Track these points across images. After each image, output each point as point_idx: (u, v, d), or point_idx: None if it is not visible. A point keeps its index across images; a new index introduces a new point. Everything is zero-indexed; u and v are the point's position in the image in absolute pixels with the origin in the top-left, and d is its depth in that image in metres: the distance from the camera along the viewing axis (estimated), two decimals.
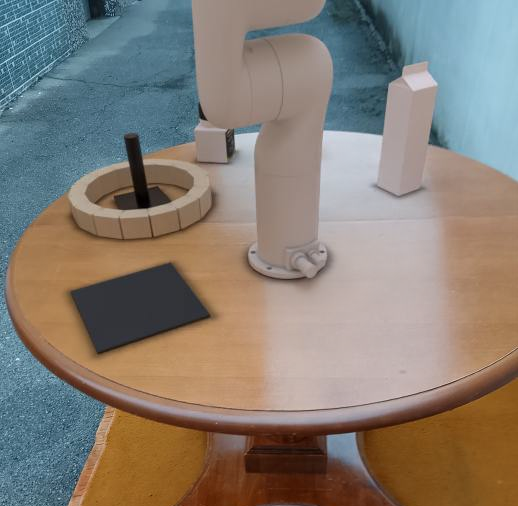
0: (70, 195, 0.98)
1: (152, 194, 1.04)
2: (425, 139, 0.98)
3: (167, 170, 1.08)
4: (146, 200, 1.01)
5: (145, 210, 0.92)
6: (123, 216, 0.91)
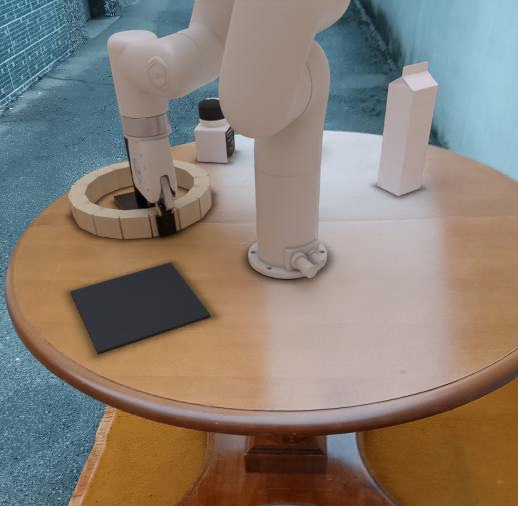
0: (70, 195, 0.98)
1: None
2: (425, 139, 0.98)
3: None
4: (146, 200, 1.01)
5: (145, 210, 0.92)
6: (123, 216, 0.91)
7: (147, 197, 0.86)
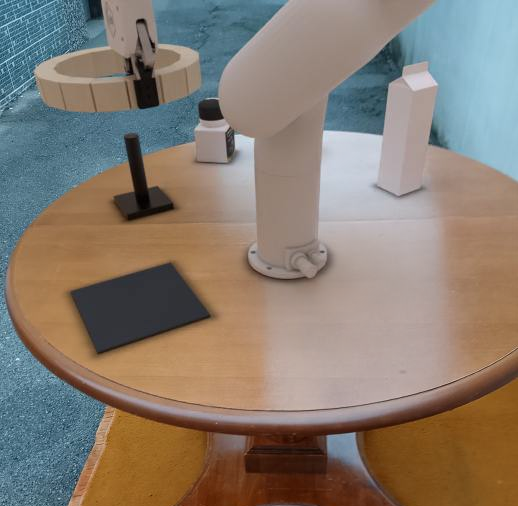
0: (36, 70, 0.84)
1: (152, 194, 1.04)
2: (425, 139, 0.98)
3: None
4: (146, 200, 1.01)
5: (121, 77, 0.78)
6: (96, 82, 0.77)
7: (122, 51, 0.73)
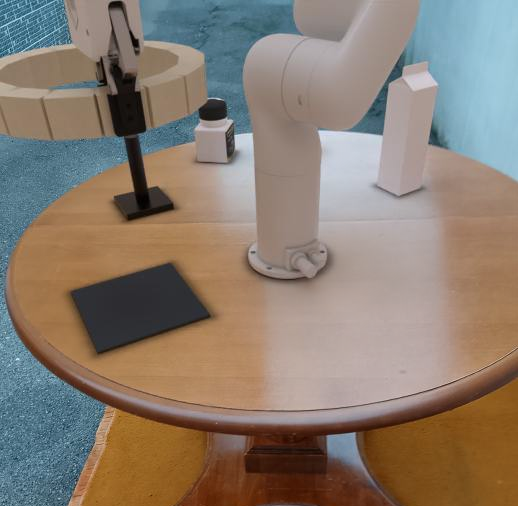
0: None
1: (152, 194, 1.04)
2: (425, 139, 0.98)
3: (139, 55, 0.69)
4: (146, 200, 1.01)
5: (90, 89, 0.53)
6: (50, 96, 0.51)
7: (88, 51, 0.47)
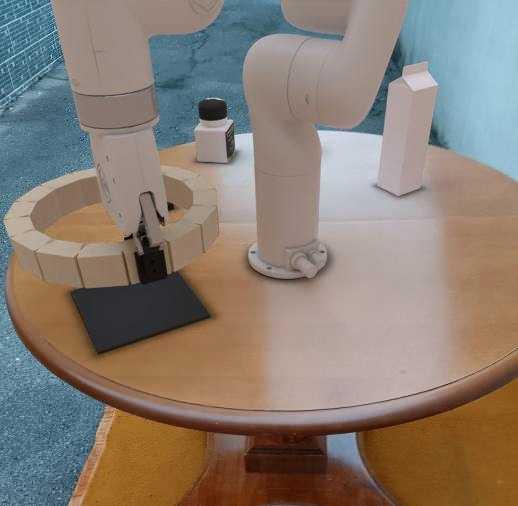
0: (7, 218, 0.65)
1: None
2: (425, 139, 0.98)
3: None
4: None
5: (118, 244, 0.59)
6: (83, 255, 0.58)
7: (119, 226, 0.54)
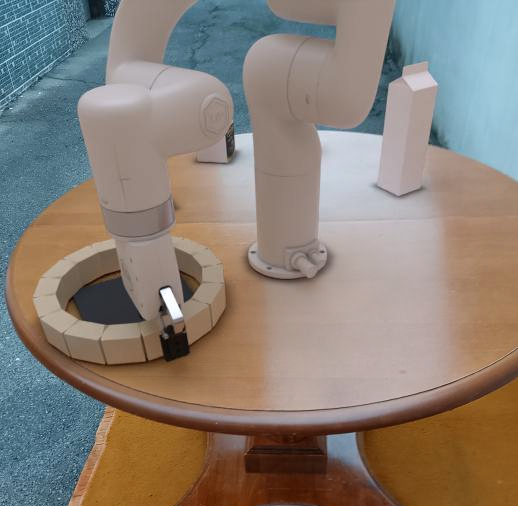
0: (36, 296, 0.72)
1: None
2: (425, 139, 0.98)
3: None
4: None
5: (136, 326, 0.67)
6: (106, 337, 0.65)
7: (141, 312, 0.61)
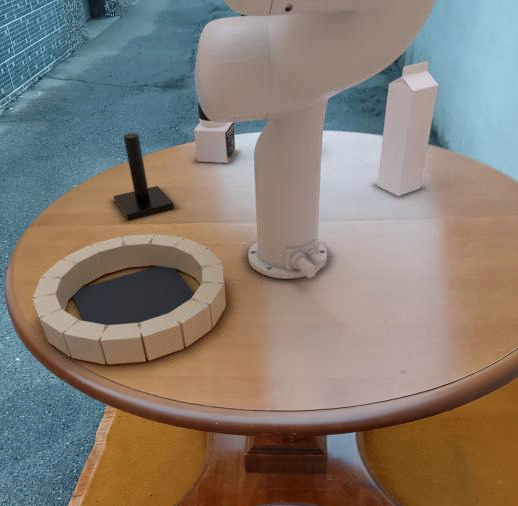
0: (36, 296, 0.72)
1: (152, 194, 1.04)
2: (425, 139, 0.98)
3: (167, 251, 0.83)
4: (146, 200, 1.01)
5: (136, 326, 0.67)
6: (106, 337, 0.65)
7: None
